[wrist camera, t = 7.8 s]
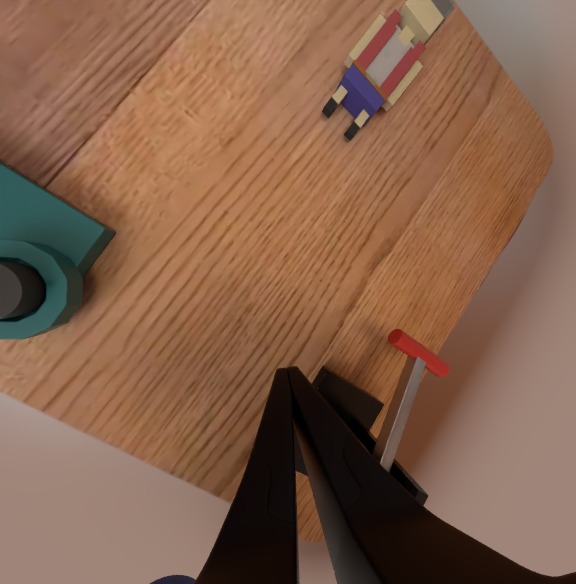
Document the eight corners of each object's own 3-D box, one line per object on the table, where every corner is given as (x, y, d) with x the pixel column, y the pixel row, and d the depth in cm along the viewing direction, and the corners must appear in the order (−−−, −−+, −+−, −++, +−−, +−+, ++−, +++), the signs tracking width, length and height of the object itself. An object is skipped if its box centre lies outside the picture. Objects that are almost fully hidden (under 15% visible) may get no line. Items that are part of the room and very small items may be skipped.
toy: (322, 80, 19) (429, -58, 20) (308, 112, 24) (397, -2, 24) (372, 134, 21) (472, 5, 21) (351, 155, 25) (435, 47, 25)
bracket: (322, 365, 24) (381, 420, 15) (377, 399, 26) (461, 467, 17) (270, 451, 23) (297, 569, 14) (331, 480, 25) (392, 601, 16)
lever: (387, 328, 21) (409, 328, 18) (431, 360, 22) (457, 364, 20) (323, 484, 17) (341, 509, 15) (381, 511, 18) (406, 537, 16)
